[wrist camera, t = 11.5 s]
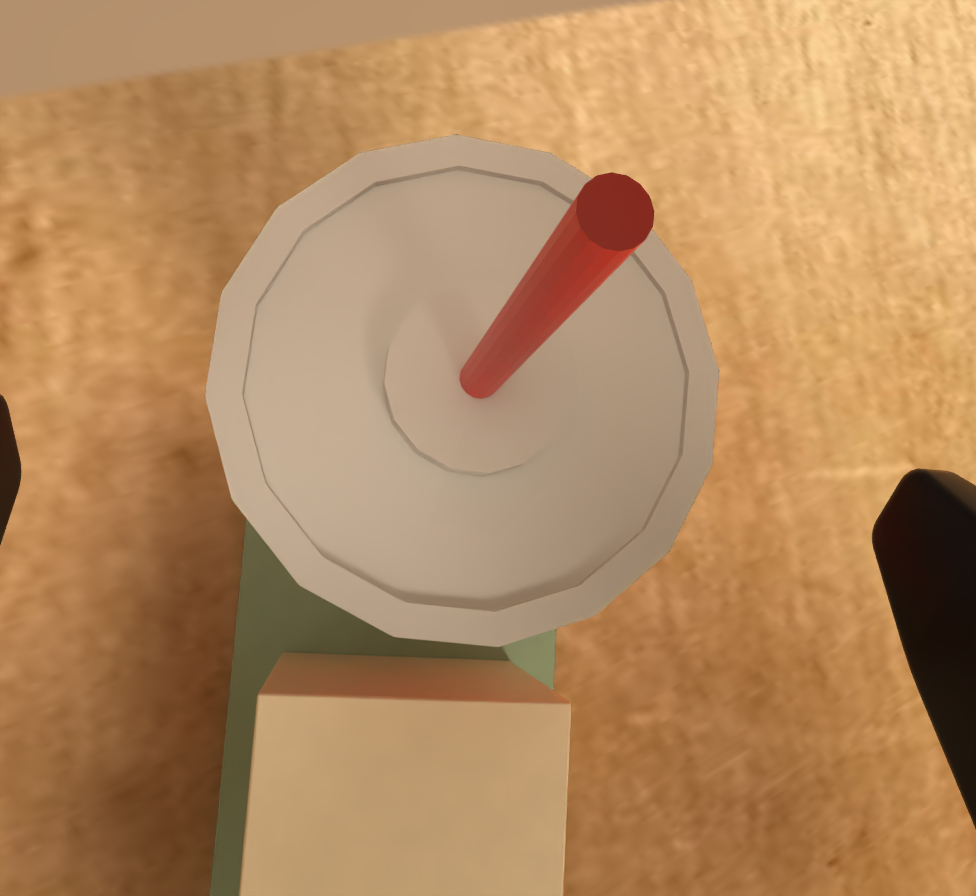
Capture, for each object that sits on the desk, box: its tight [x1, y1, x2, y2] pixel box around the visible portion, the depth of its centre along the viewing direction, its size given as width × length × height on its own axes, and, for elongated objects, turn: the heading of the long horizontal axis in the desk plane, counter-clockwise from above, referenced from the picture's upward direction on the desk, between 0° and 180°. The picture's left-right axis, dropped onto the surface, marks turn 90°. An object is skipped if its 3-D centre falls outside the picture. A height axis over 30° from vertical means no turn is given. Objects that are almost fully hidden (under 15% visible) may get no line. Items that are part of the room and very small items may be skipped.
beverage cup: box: [205, 134, 719, 647], centre depth 12 cm, size 6×6×14 cm
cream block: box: [239, 652, 571, 896], centre depth 15 cm, size 5×5×5 cm
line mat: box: [210, 518, 556, 896], centre depth 18 cm, size 22×7×1 cm, turn 177°
